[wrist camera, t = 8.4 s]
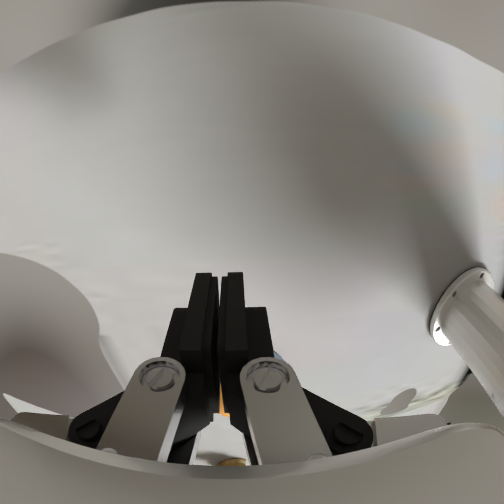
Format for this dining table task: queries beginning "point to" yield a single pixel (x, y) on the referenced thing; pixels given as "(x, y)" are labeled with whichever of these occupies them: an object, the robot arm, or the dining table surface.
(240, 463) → the chocolate bunny
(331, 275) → the dining table surface
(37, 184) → the dining table surface
